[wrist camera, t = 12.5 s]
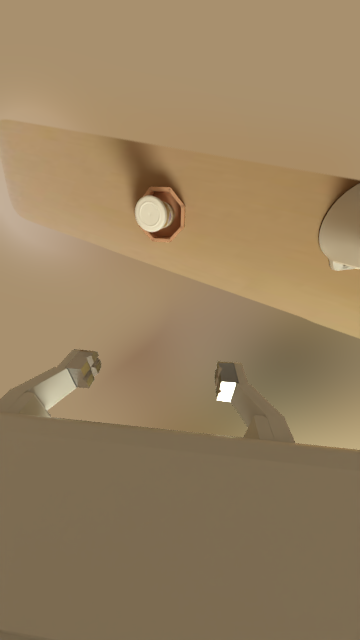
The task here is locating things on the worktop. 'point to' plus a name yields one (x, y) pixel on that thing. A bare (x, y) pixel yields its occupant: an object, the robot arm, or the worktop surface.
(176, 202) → the bowl
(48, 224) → the worktop surface
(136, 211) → the sprinkles bottle
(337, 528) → the robot arm
